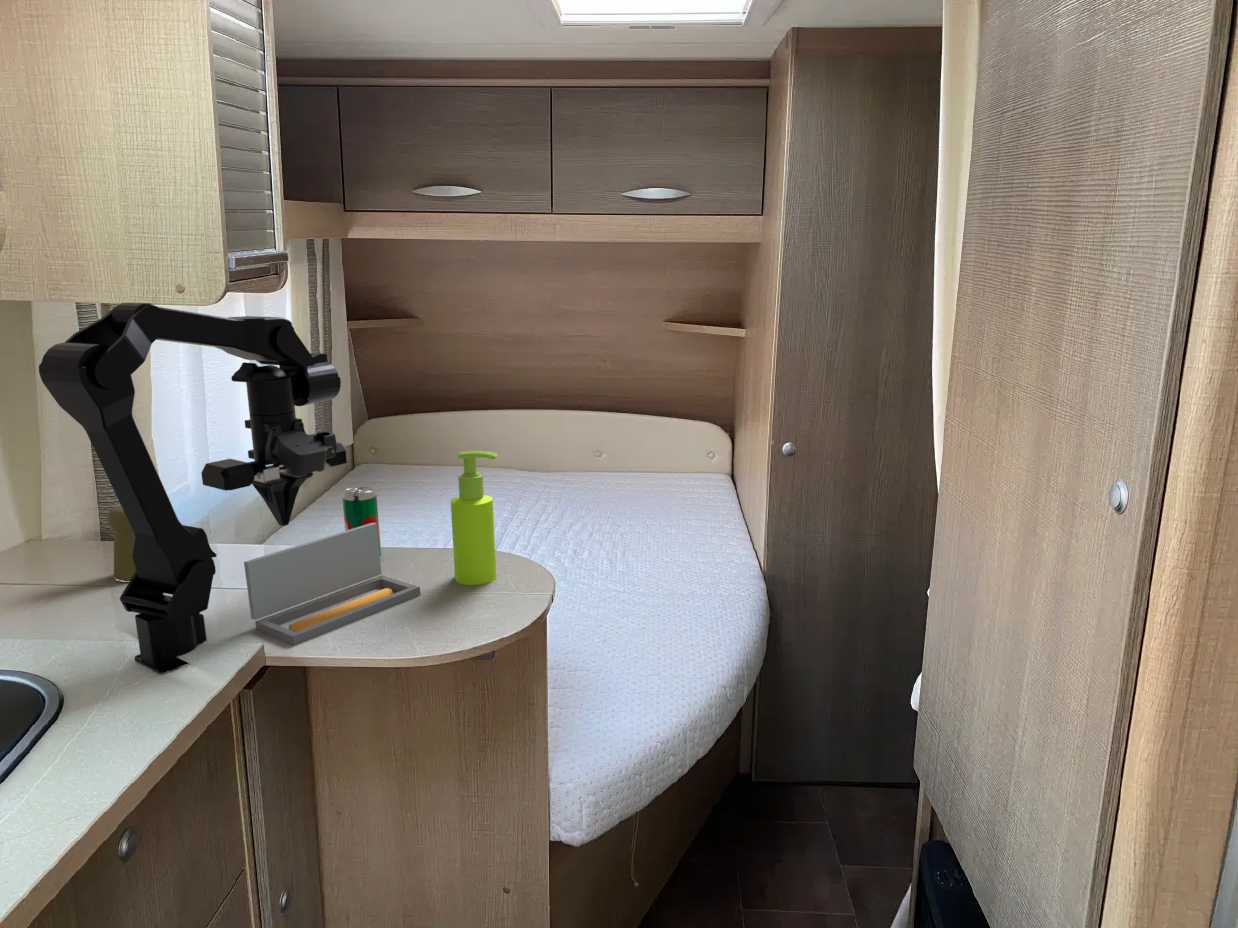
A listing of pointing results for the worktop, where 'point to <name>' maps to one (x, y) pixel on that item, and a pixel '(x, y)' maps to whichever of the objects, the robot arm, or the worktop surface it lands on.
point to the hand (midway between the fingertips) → (283, 525)
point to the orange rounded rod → (340, 610)
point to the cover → (312, 570)
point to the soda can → (360, 508)
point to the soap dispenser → (473, 525)
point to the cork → (122, 544)
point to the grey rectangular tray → (272, 622)
